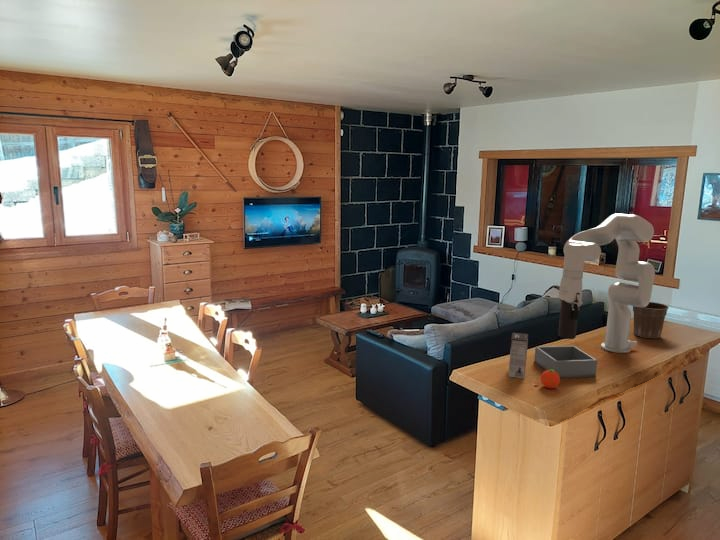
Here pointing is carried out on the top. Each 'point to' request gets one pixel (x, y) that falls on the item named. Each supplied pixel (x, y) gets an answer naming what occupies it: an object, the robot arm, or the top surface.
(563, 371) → the tote
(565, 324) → the vinegar
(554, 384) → the clementine
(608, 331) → the robot arm
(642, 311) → the plant pot
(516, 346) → the coffee box
